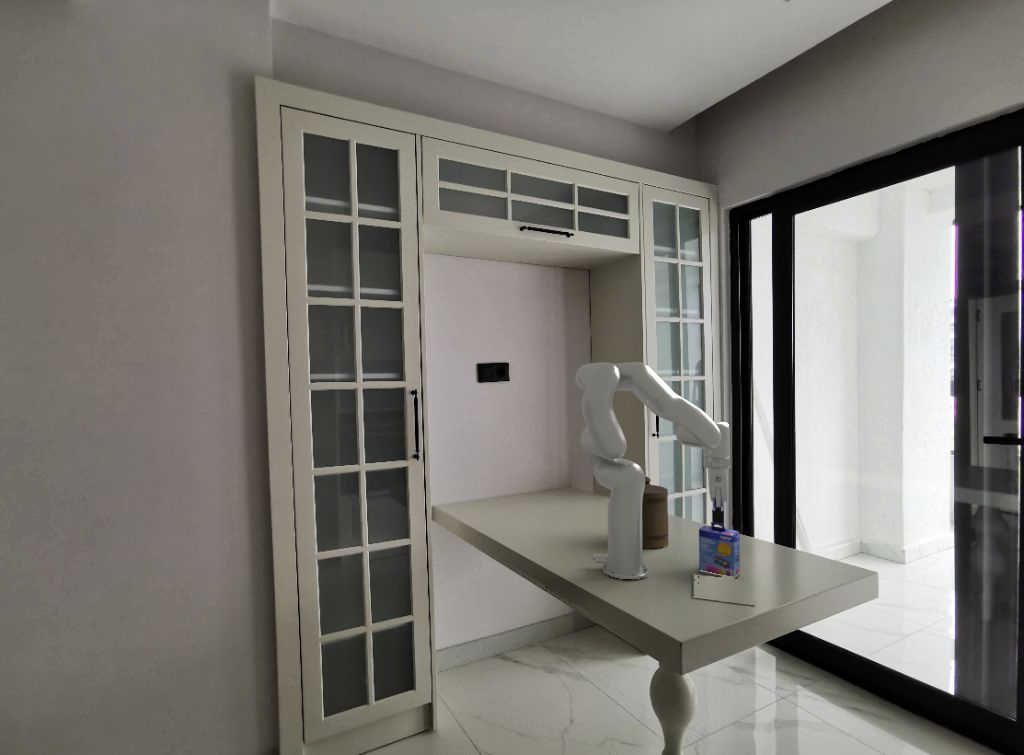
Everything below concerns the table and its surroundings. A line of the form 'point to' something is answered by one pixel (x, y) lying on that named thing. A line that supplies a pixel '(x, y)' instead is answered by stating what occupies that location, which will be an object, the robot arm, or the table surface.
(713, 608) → the table surface
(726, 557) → the ink cartridge box
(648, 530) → the wooden container
